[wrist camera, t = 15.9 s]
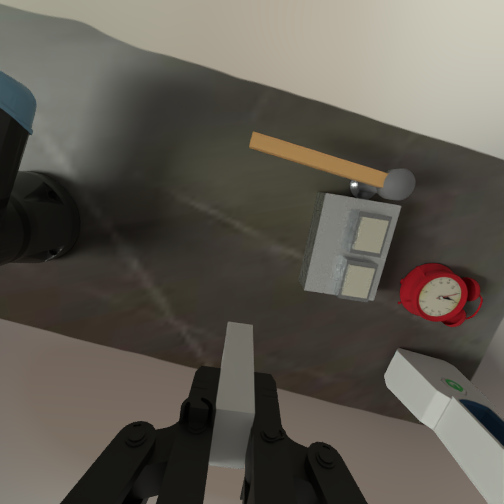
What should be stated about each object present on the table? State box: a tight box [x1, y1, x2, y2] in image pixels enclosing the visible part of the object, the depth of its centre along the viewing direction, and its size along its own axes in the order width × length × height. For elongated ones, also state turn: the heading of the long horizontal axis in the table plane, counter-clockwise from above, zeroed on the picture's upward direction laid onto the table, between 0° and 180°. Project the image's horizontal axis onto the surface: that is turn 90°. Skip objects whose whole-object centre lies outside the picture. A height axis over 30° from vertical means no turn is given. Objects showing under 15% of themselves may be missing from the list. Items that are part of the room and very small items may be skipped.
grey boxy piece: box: [299, 179, 401, 302], centre depth 44 cm, size 12×21×7 cm, turn 171°
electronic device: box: [384, 348, 504, 504], centre depth 41 cm, size 12×8×30 cm, turn 73°
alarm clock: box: [398, 263, 483, 327], centre depth 49 cm, size 10×6×15 cm
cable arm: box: [249, 131, 415, 200], centre depth 40 cm, size 22×4×11 cm, turn 74°
